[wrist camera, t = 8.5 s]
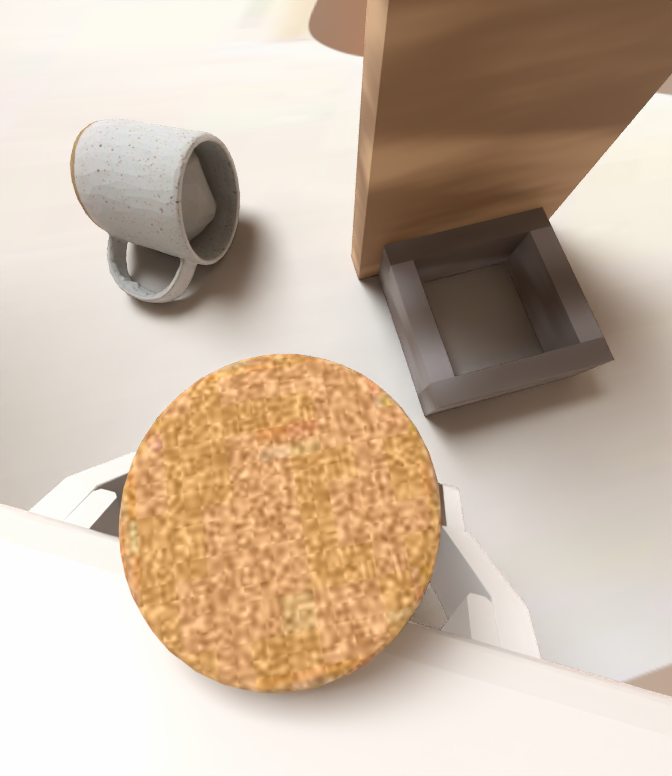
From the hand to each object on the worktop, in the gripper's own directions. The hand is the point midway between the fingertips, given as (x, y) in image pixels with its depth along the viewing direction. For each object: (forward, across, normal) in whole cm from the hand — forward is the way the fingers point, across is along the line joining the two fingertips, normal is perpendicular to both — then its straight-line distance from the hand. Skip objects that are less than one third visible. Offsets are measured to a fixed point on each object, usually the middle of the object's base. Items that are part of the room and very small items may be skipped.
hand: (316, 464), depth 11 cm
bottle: (+6, 0, +7) cm, 9 cm away
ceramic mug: (+18, +15, 0) cm, 24 cm away
